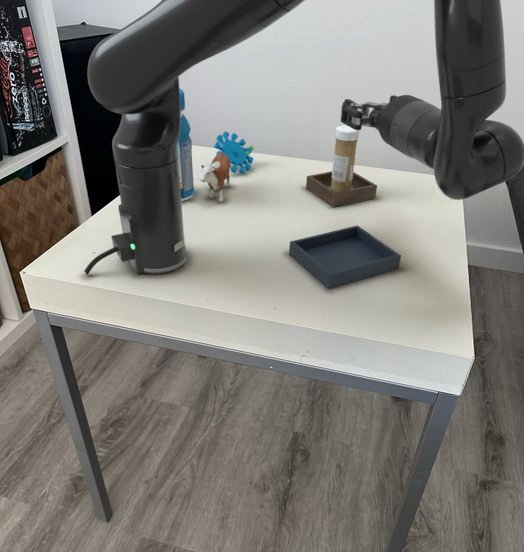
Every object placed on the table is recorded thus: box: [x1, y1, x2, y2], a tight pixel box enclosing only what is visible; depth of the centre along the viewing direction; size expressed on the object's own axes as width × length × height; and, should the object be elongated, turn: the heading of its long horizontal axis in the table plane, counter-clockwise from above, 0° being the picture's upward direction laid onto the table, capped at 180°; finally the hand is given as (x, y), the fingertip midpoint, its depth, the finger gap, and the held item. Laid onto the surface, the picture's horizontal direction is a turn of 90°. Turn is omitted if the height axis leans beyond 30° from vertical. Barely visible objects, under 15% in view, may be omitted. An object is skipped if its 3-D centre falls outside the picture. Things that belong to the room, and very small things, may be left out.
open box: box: [305, 170, 378, 208], centre depth 110 cm, size 11×11×3 cm
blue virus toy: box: [213, 131, 255, 174], centre depth 120 cm, size 11×6×10 cm
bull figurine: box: [199, 151, 231, 203], centre depth 106 cm, size 4×13×8 cm, turn 168°
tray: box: [288, 225, 402, 290], centre depth 88 cm, size 14×12×2 cm
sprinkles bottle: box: [330, 124, 360, 192], centre depth 107 cm, size 5×5×14 cm
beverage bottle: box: [177, 88, 195, 202], centre depth 102 cm, size 8×8×20 cm
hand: (368, 103), depth 91 cm, fingers open, 8 cm apart
